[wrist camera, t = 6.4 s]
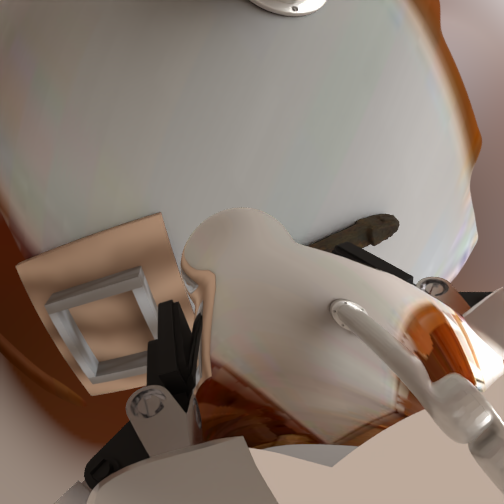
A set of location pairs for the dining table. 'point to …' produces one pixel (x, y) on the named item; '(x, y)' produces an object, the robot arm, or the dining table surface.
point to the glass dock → (107, 300)
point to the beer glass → (337, 373)
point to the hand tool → (362, 233)
